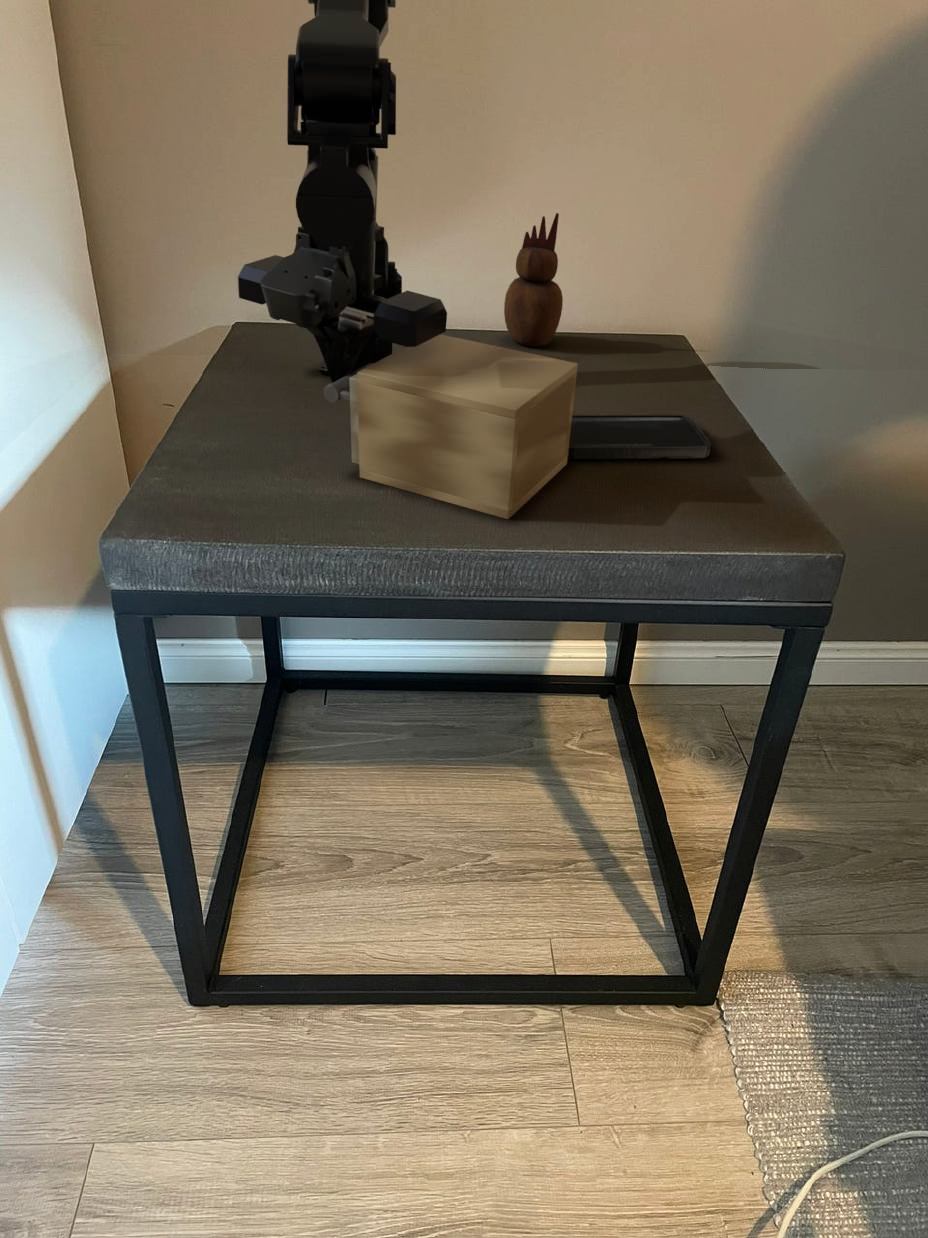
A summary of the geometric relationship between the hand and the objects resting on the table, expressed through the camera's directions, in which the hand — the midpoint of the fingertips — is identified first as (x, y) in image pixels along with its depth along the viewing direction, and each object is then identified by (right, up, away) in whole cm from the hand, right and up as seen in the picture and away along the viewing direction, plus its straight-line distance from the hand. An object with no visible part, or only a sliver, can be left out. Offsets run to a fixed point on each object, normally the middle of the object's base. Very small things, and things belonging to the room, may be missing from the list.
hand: (339, 391), depth 88 cm
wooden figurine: (+20, +13, +28) cm, 37 cm away
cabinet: (+12, -8, -2) cm, 14 cm away
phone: (+27, -4, +4) cm, 28 cm away
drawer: (+8, -6, -1) cm, 10 cm away
